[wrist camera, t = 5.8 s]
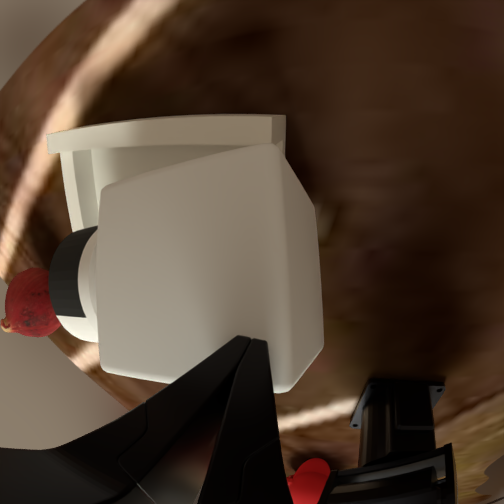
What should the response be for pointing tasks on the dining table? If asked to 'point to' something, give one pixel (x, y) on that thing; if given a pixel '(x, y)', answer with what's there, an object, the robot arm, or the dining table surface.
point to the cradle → (148, 150)
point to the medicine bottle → (196, 268)
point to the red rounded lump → (30, 305)
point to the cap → (309, 481)
